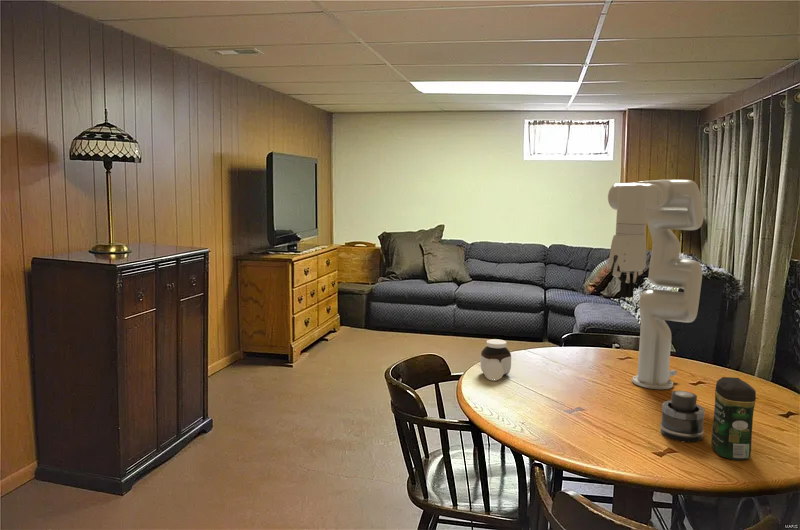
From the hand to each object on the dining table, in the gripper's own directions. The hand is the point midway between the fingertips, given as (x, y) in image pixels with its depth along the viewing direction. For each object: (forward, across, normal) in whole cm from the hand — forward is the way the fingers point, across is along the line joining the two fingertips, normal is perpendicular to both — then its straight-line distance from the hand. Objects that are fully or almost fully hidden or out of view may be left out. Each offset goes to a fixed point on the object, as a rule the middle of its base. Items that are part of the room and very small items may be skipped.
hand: (626, 296), depth 169 cm
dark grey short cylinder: (+29, -6, +16) cm, 34 cm away
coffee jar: (+35, -7, +29) cm, 46 cm away
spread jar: (+35, +8, -46) cm, 59 cm away
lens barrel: (+35, -6, +16) cm, 39 cm away
